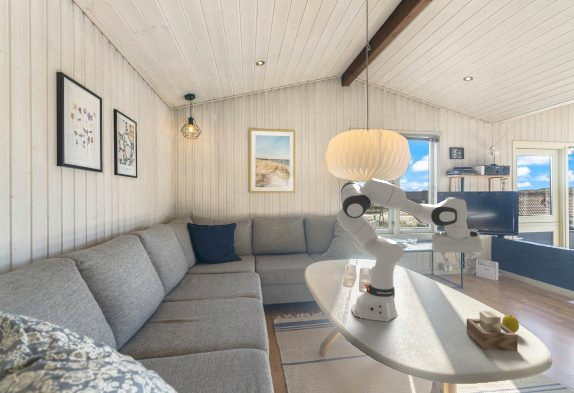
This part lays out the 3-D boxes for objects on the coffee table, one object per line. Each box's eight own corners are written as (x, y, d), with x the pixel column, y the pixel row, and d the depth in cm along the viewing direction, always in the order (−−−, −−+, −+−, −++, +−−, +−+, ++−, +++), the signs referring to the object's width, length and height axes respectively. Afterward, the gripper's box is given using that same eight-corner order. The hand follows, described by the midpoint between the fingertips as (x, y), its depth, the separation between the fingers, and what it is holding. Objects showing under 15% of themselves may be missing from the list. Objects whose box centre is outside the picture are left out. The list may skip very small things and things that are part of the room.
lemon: (501, 333, 112) (501, 315, 112) (503, 328, 116) (502, 310, 116) (518, 338, 108) (518, 319, 108) (519, 332, 112) (519, 314, 112)
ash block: (487, 331, 104) (487, 316, 104) (479, 325, 109) (479, 311, 109) (500, 332, 104) (500, 317, 104) (492, 325, 109) (492, 311, 109)
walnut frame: (483, 349, 101) (483, 333, 101) (466, 332, 113) (466, 318, 113) (517, 350, 100) (517, 335, 100) (496, 333, 112) (496, 319, 112)
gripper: (435, 233, 118) (435, 263, 119) (483, 233, 116) (484, 263, 116) (429, 231, 125) (429, 259, 125) (475, 230, 122) (475, 259, 122)
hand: (456, 261), depth 121 cm, fingers open, 8 cm apart
